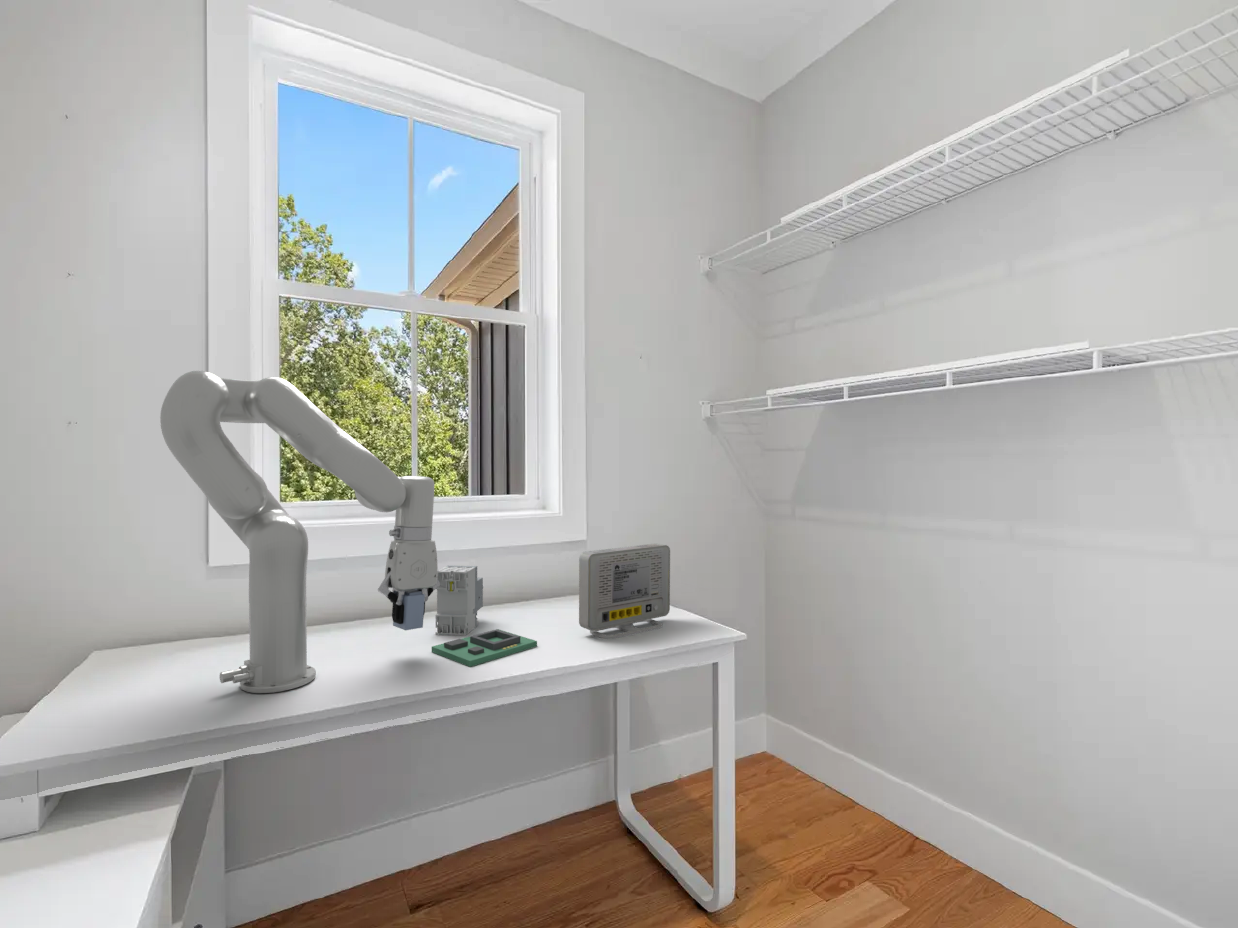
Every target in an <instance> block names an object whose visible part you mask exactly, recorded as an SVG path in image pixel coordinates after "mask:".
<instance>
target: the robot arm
mask: <svg viewBox="0 0 1238 928" xmlns="http://www.w3.org/2000/svg"><path fill="white" fill-rule="evenodd" d="M159 418H160V429H161V434H162V436H163V439H164V442H165V444H166V446H167V448H168V449H169V451H170V452H171V454H172V455H173V457H174V458H175V459H176V461H177V462H178V464H180V466H181V467H182V468H183V469H184V470H185V472H186V473H187V474H188V476H189V477H190V478H191V479H192V481H193V482H194V483H195V484H196V486H197V487H198V488H199V489H200V490H201V491H202V493H203V494H204V495H205V496H206V499H207V502H208V504H210V506H211V508H212V509H213V510H214V511H215V512H216V513H217V514H218V516H220V517H221V519H222V520H223V522H224V523H226V525H227V526H228V527H229V528H230V530H232V532H233V533H234V534H235V535H236V536H237V537H238V538H239V540H240V541H241V542H242V543H243V544H244V545H245V546H246V548H247V549H248V552H249V554H248V555H249V556H248V557H249V566H248V569H249V570H248V605H249V606H248V607H249V608H248V611H249V612H248V613H249V616H248V617H249V620H248V621H249V622H248V623H249V624H248V625H249V629H248V630H249V659H247V660H244V661H243V664H244V665H240V666H239V667H238V668H237V669H233V670H232V669H230V670H227V671H220V673H219V682H220V684H223V683H224V684H225V683H228V682H232V683H233V684H237V683H239V688H240V689H241V690H242V691H244V692H247V693H252V694H269V693H270V694H271V693H279V692H284V691H289V690H293V689H297V688H300V687H302V686H304V685H308V684H309V683H310V682H311V683H312V681H313V680H314V679H315V678H316V675H317V670H316V668H315V667H313V666H311V665H307V664H308V661H307V660H308V658H307V657H308V656H307V653H308V651H307V640H308V638H307V632H308V631H307V630H308V629H307V570H308V557H309V539H308V535H307V531H306V530H305V527H304V526H303V525H302V523H301V522H300V521H299V520H297V519H296V518H294V517H292V516H291V515H289V513H288V512H287V511H286V510H285V508H284V507H283V506H282V505H281V504H280V502H279V501H278V500H277V499H276V497H275V496H274V495H273V494H272V493H271V492H270V490H269V489H268V486H267V483H266V481H265V480H264V478H263V477H262V476H261V475H260V474H259V473H257V472H256V471H255V470H254V469H253V468H252V467H251V465H250V464H249V463H248V462H247V460H246V459H244V457H243V455H241V453H240V452H239V451H238V450H237V448H236V447H235V446H234V444H233V442H232V441H231V440H230V439H229V438H228V436H227V435H226V434H225V432H224V430H223V428H222V426H221V423H235V424H236V423H237V424H266V425H267V426H268V427H269V428H270V429H271V430H273V431H274V433H276V434H277V435H278V436H280V437H281V438H282V439H283V440H285V441H286V442H287V444H289V445H290V446H291V447H293V448H294V450H296V451H297V452H298V453H299V454H301V455H302V456H303V457H304V458H305V459H306V460H308V461H310V462H311V463H313V464H314V465H315V466H317V467H319V468H320V469H322V470H325V471H326V472H328V473H331V474H332V475H334V476H335V477H336V478H337V479H338V480H341V481H342V482H343V483H344V484H345V485H347V486H348V487H350V488H351V489H352V490H353V491H354V495H355V498H356V500H357V501H358V503H359V504H361V505H362V506H363V507H364V508H367V509H369V510H373V511H377V512H380V513H392V512H393V511H395V517H394V518H395V521H394V524H395V525H394V526H393V529H389V531H388V535H389V536H390V537H393V540H391V541H390V545H389V549H388V551H387V557H386V565H385V572H384V579H383V580H382V582H381V584H380V585H379V586H378V588H377V591H378V593H380V594H382V595H383V596H385V597H386V598H387V599H388V600H389V601H390V603H392V607H391V608H392V610H391V611H392V612H391V618H392V623H393V622H395V623H398V624H403V619H404V605H403V604H402V601H403V597H404V592H405V591H407V590H418V591H421V592H422V594H425V598H424V615H423V620H424V616H425V614H426V613H425V612H426V611H425V610H426V602H427V601H428V600H429V597H430V596H431V595H432V594H433V592H434V591H436V590H437V589H436V588H438V587H439V586H440V582H439V580H438V578H437V573H438V570H439V569H438V552H437V545H436V541H435V540H433V538H432V535H433V518H434V517H433V516H434V503H435V502H434V501H435V480H434V479H433V478H432V477H429V476H422V475H404V476H398V475H396V473H394V472H393V471H392V470H391V469H390V468H389V467H388V466H387V465H386V464H384V462H383V461H381V460H380V459H379V458H378V457H377V456H376V455H374V454H373V453H372V452H371V451H370V450H368V449H367V448H366V447H365V446H363V445H362V444H361V443H359V442H358V441H357V440H355V439H354V438H353V437H352V436H351V435H350V434H349V433H347V432H346V431H344V429H342V428H341V427H340V426H339V425H338V424H336V423H335V422H334V421H333V419H331V418H330V417H329V416H328V415H326V414H325V413H324V411H322V410H321V409H320V408H318V406H316V405H315V404H314V402H312V401H311V400H310V399H309V398H308V397H307V396H306V395H304V393H302V392H301V391H300V389H298V388H297V387H296V386H294V385H293V384H292V383H291V382H290V381H288V380H286V379H284V378H281V377H277V376H270V377H269V376H268V377H265V378H262V379H260V380H258V379H257V380H255V379H254V380H251V379H250V380H249V379H232V378H222V377H219V376H217V375H216V374H214V373H212V372H209V371H204V370H193V371H189V372H186V373H183V374H182V375H180V376H179V377H178V378H177V379H176V380H175V381H174V383H173V384H172V385H171V387H170V388H169V390H168V391H167V393H166V395H165V397H164V399H163V402H162V405H161V409H160V416H159ZM389 588H390V589H392V591H391V590H390V589H389Z"/></svg>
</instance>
